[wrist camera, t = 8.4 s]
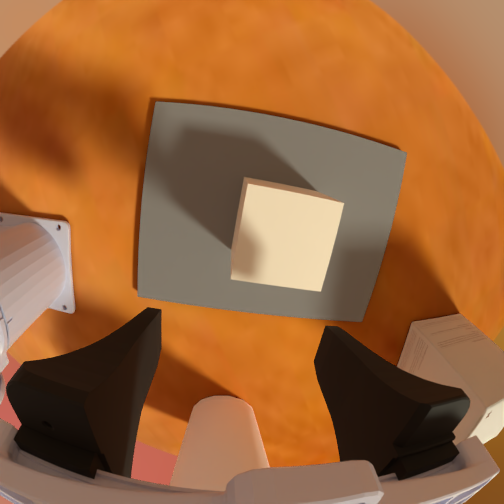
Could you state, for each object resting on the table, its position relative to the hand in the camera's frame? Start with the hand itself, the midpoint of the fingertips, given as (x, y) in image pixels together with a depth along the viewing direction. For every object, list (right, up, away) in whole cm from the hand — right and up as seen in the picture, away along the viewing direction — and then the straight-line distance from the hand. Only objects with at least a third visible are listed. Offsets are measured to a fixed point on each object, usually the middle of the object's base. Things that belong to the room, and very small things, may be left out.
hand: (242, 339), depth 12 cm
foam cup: (-2, -13, +14) cm, 19 cm away
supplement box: (+19, -6, +13) cm, 24 cm away
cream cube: (+2, +6, +7) cm, 10 cm away
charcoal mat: (+2, +6, +8) cm, 10 cm away
